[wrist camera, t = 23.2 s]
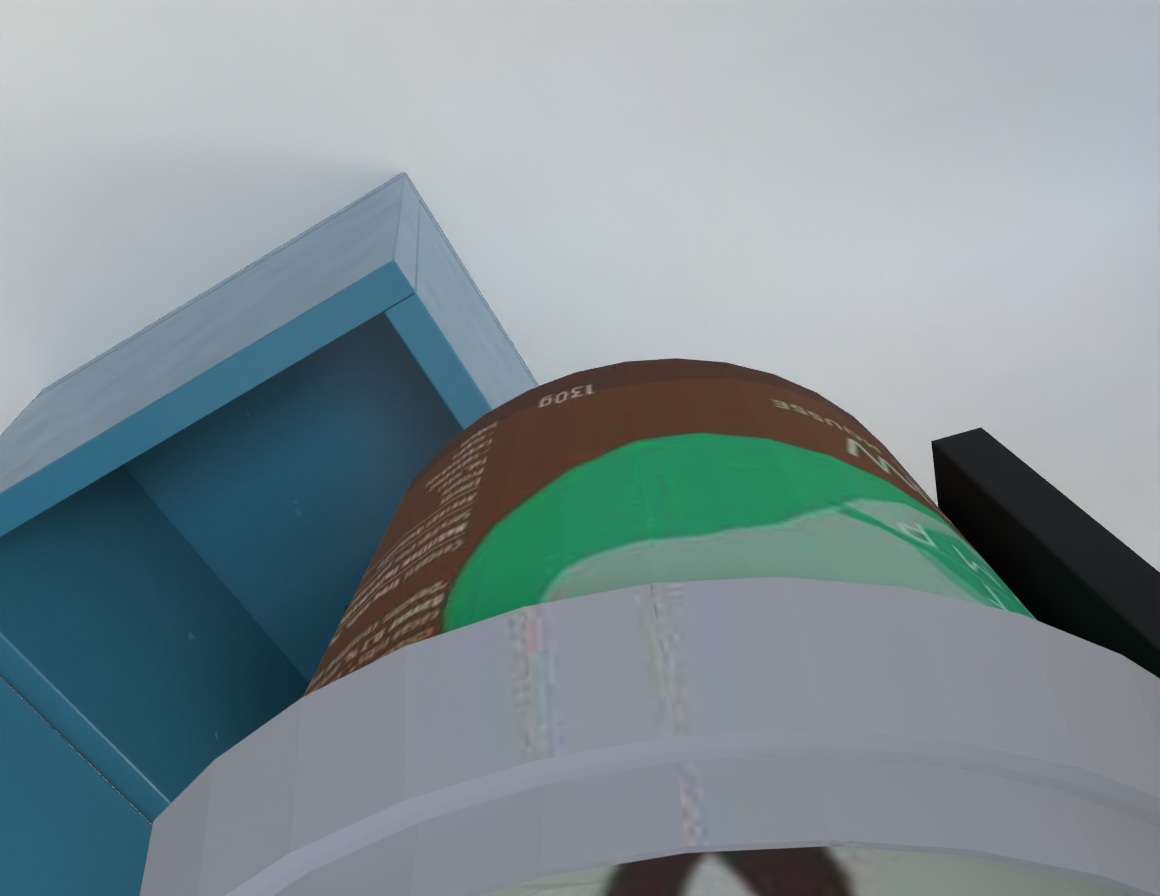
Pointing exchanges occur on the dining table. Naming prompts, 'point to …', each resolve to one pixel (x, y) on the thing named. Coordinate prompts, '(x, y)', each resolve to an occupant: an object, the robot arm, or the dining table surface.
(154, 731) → the box
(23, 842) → the freezer lid
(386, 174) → the dining table surface
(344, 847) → the food container
